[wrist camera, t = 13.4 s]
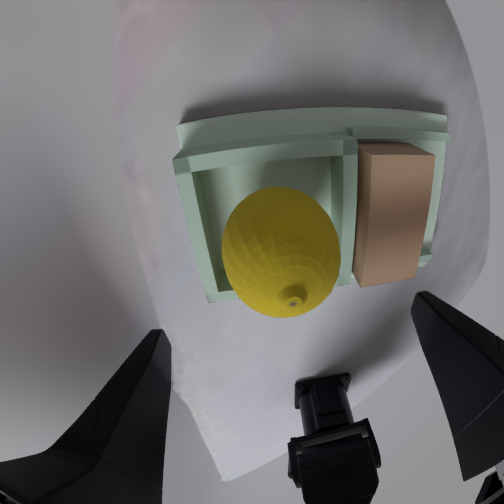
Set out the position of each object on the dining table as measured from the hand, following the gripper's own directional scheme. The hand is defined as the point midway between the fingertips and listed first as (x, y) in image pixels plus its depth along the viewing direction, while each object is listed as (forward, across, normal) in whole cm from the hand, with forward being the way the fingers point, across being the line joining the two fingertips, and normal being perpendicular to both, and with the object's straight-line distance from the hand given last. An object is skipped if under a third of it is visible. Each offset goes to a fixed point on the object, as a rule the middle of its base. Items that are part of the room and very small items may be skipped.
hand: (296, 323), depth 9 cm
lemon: (+9, 0, 0) cm, 9 cm away
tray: (+10, -4, 0) cm, 11 cm away
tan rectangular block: (+9, -7, 0) cm, 11 cm away
